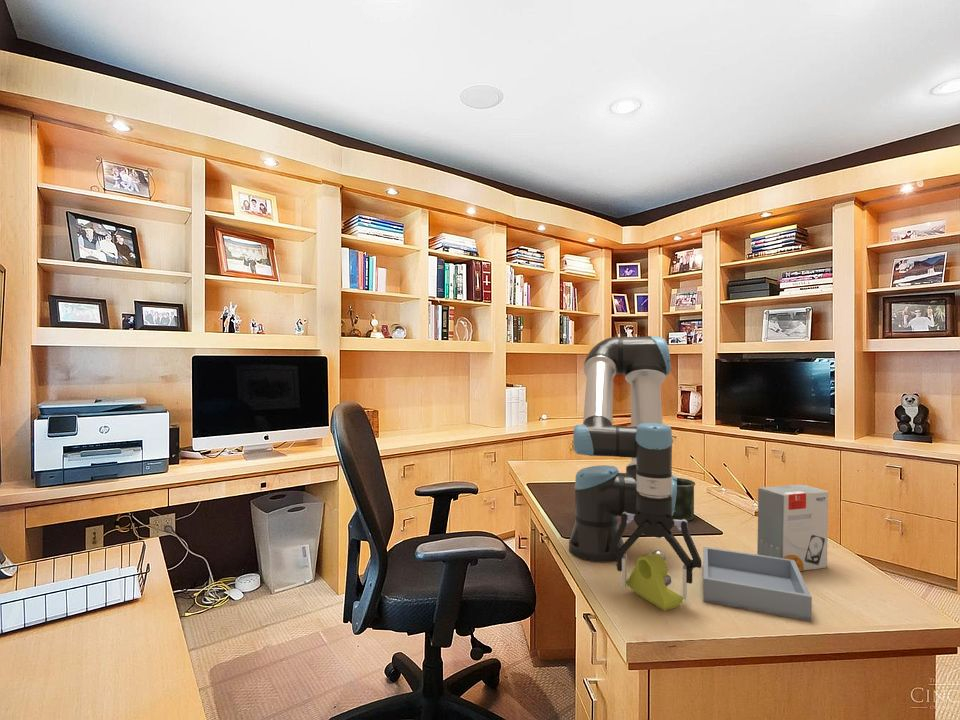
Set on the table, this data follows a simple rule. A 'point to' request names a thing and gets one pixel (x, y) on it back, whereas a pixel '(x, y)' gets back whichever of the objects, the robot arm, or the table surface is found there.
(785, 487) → the hard drive box
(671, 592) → the bracket
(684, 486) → the mug
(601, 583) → the table surface
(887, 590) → the table surface
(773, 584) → the bin
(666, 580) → the ball stud
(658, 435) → the robot arm
